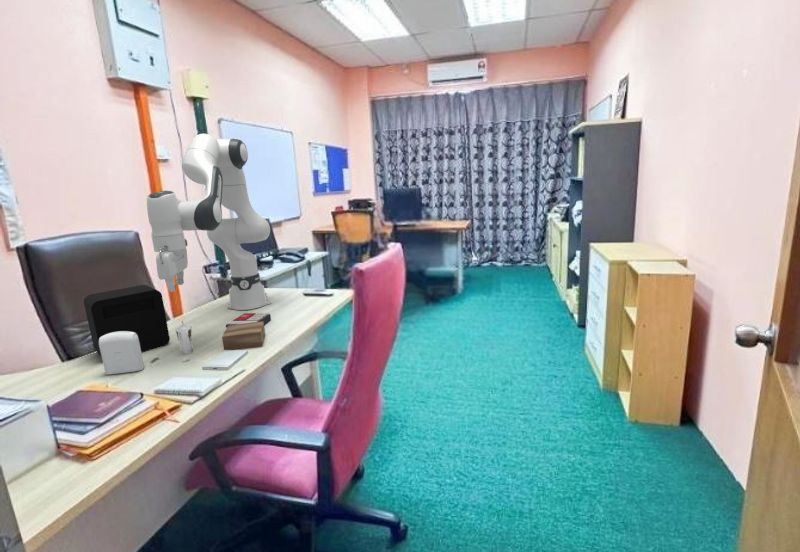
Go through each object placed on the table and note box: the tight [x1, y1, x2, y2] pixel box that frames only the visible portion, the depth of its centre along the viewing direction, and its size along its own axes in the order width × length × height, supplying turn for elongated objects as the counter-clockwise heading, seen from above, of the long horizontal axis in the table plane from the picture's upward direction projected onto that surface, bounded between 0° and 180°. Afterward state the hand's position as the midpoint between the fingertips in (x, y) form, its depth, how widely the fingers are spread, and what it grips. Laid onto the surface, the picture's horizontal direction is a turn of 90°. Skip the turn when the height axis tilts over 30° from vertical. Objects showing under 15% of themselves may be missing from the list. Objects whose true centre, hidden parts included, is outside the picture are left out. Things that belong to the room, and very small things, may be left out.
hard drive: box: [201, 349, 249, 371], centre depth 132 cm, size 2×8×12 cm
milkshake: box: [175, 320, 194, 355], centre depth 141 cm, size 5×5×10 cm
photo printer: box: [99, 331, 145, 376], centre depth 128 cm, size 10×4×12 cm, turn 100°
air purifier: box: [83, 284, 171, 358], centre depth 146 cm, size 20×15×20 cm
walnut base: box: [221, 321, 266, 351], centre depth 147 cm, size 12×12×5 cm
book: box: [225, 312, 272, 329], centre depth 164 cm, size 11×4×15 cm
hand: (176, 287), depth 137 cm, fingers open, 8 cm apart
